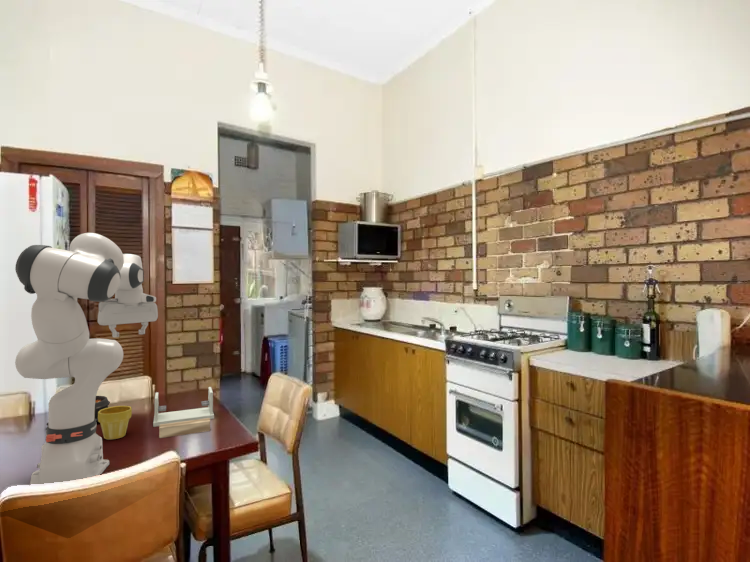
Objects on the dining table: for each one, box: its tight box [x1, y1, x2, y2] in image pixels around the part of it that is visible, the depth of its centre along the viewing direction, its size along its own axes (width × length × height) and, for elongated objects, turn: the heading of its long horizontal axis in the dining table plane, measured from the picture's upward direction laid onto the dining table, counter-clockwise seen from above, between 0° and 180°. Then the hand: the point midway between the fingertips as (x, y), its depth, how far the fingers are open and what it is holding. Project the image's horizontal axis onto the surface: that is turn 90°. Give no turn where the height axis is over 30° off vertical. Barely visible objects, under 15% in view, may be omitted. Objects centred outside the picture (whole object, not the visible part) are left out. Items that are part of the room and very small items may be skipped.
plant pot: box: [97, 405, 133, 441], centre depth 148 cm, size 10×10×10 cm
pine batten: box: [158, 418, 211, 439], centre depth 152 cm, size 4×17×4 cm, turn 116°
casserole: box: [46, 395, 111, 426], centre depth 164 cm, size 25×19×8 cm
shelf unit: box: [152, 386, 215, 428], centre depth 168 cm, size 12×22×10 cm, turn 116°
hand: (129, 335), depth 150 cm, fingers open, 8 cm apart
